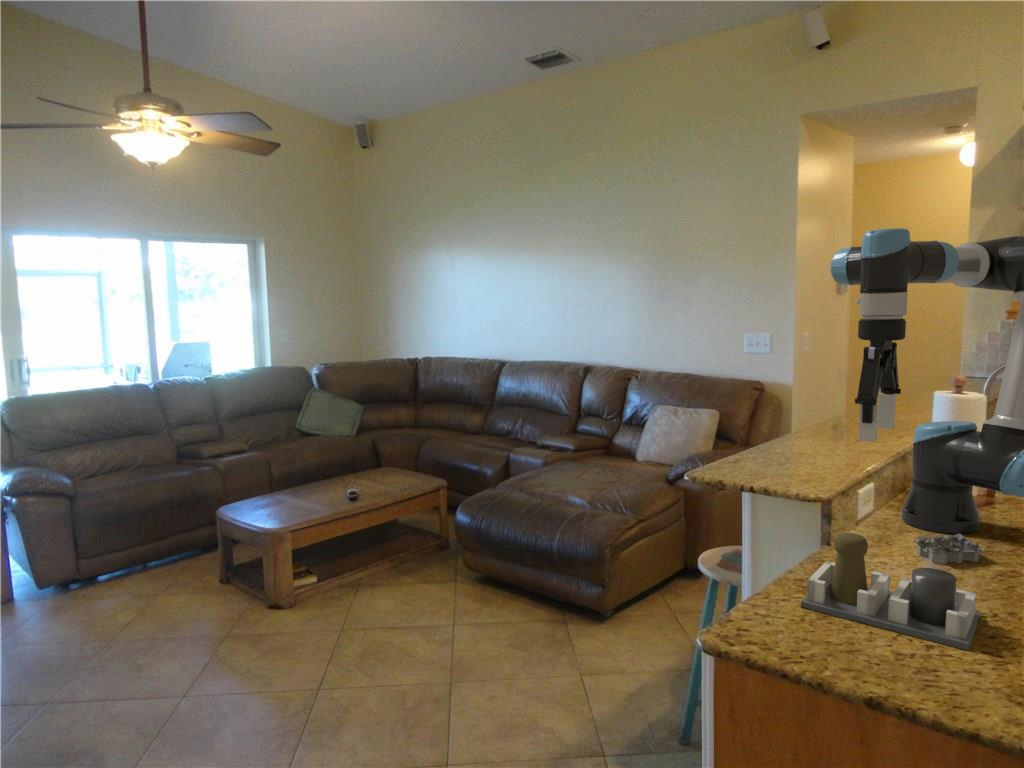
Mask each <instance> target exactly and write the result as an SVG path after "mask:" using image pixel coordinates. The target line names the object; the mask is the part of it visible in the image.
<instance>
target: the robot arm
mask: <svg viewBox="0 0 1024 768" xmlns="http://www.w3.org/2000/svg"><path fill="white" fill-rule="evenodd" d="M861 239H862V241H861V246H850V247H846V248H845V247H844V248H841V249H839V250H837V251H836V252H835V253H834V255H832V258H831V260H830V266H829V267H830V268H829V269H830V275H831V277H832V279H833V280H834V281H835V282H836V283H837V284H840V285H843V286H845V285H846V286H847V285H848V286H860V287H859V298H857V299H856V300H855V301H856V302H855V303H856V304H857V305H859V307H858V309H859V311H858V315H860V316H861V317H862V318H860V319H859V320H858V325H857V327H858V328H857V338H858V339H859V340H862V341H869V346H864V348H863V355H862V356H863V358H862V366H861V372H860V377H859V383H858V384H859V385H858V390H857V396H856V398H854V404H855V405H856V404H857V405H859V422H858V423H859V427H858V429H859V430H858V441H860V442H861V441H862V442H869V443H870V442H871V443H877V442H878V440H877V439H878V429H883V430H884V429H886V430H895V425H896V424H895V421H896V419H895V418H896V399H897V395H901V393H902V388H900V383H899V372H898V371H899V369H898V357H897V355H898V354H897V353H898V351H897V347H898V343H897V342H895V341H902V340H904V339H905V338H906V333H907V332H906V330H907V329H906V327H907V320H906V319H905V318H904V316H906V315H907V314H908V293H909V292H908V284H953V285H955V286H957V287H960V288H977V289H984V290H991V291H992V290H993V291H1003V292H1004V291H1005V292H1013V297H1014V299H1015V300H1016V301H1017V302H1018V303H1019V308H1018V312H1017V315H1016V320H1015V324H1014V329H1013V333H1012V338H1011V342H1010V346H1009V351H1008V353H1007V358H1006V362H1005V367H1004V371H1003V375H1002V379H1001V385H1000V388H999V393H998V397H997V402H996V405H995V409H994V413H993V416H992V417H991V418H989V419H987V420H985V421H984V422H983V423H982V426H981V427H982V428H981V431H979V430H978V427H977V424H976V423H975V422H973V421H966V420H965V421H964V420H963V421H961V420H960V421H959V420H948V421H947V420H945V421H943V420H942V421H929V422H923V423H920V424H918V425H917V426H916V427H915V430H914V436H913V441H912V444H913V451H912V473H911V477H912V478H911V479H912V481H911V487H910V490H909V492H908V494H907V496H906V498H905V501H904V504H903V505H902V508H901V520H902V521H903V522H904V523H906V524H907V525H910V526H913V527H915V528H918V529H922V530H926V531H932V532H934V533H935V532H937V533H942V534H943V533H944V534H959V533H960V534H970V533H974V532H977V531H979V530H980V528H981V516H980V513H979V509H978V506H977V503H976V500H975V497H974V493H973V488H974V487H976V488H982V489H986V490H989V491H994V492H997V493H1001V494H1003V495H1007V496H1016V497H1021V498H1024V235H1020V236H1019V235H1017V236H1008V237H1001V238H994V239H990V240H984V241H977V242H963V243H961V244H959V245H957V246H955V247H954V246H953V245H952V244H951V243H948V242H947V241H945V242H944V241H938V240H929V241H927V240H921V241H920V240H919V241H917V240H916V241H912V240H911V233H910V231H909V230H908V229H907V228H900V227H899V228H897V227H896V228H882V229H881V228H880V229H879V228H878V229H873V230H868V231H866V232H865V233H864V234H863V236H862V238H861ZM880 392H881V393H880ZM877 403H878V404H877Z"/></svg>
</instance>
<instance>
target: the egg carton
mask: <svg viewBox="0 0 1024 768" xmlns="http://www.w3.org/2000/svg"><path fill="white" fill-rule="evenodd" d="M913 543H917V544H916V555H917V556H918V555H919V556H918V557H920V556H924V558H927V557H928V558H927V559H928V562H929V561H930V563H931V562H933V563H932V564H938V563H939V564H940V565H947V563H948V562H951V563H955V564H962V563H963V560H964V561H966V560H967V562H968V561H969V562H972V563H978V562H979V560H980V554H982V553H983V551H985V547H982V548H981V547H980V546H979V544H978V543H975V542H974V541H973V540H971V539H969V538H966V537H965V536H964V535H963V534H962V533H955V534H954V535H953V534H952V535H945V536H944V535H937V536H930V537H926V536H917V537H915V539H914V540H913Z"/></svg>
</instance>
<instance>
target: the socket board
mask: <svg viewBox="0 0 1024 768" xmlns="http://www.w3.org/2000/svg"><path fill="white" fill-rule="evenodd" d="M835 563H836V562H831V561H827V560H826V561H824V562H823V564H822V565H821V566H819V568H818V569H817V570H816V571H815V572H814V573H813V574H812V575H811V576H810V577H809V578H808V579H807V585H806V586H807V590H806V596H804V597H803V598H802V599H801V601H800V608H802V607H805V608H804V609H806V608H809V609H808V610H810V609H812V610H811V611H813V610H815V611H814V612H817V611H818V612H817V613H821V612H822V614H825V613H826V614H825V615H830V616H834V617H838V618H841V619H844V618H845V619H844V620H848V619H849V621H852V620H853V621H852V622H856V621H858V622H857V623H860V622H862V623H861V624H864V623H865V625H868V624H869V625H868V626H872V627H876V628H879V629H883V630H888V631H891V632H895V633H900V634H902V633H903V635H907V636H910V637H915V638H919V639H921V640H922V639H923V640H927V641H930V642H934V643H937V644H941V645H942V644H943V645H946V646H950V647H953V648H957V649H961V650H965V651H968V652H969V651H970V648H971V645H972V643H973V639H974V637H975V634H976V631H977V628H978V625H979V623H980V620H979V619H981V611H976V607H977V606H976V602H977V601H976V600H977V593H976V592H972V591H967V590H962V589H958V588H957V577H956V576H955V574H953V573H951V572H948V571H946V570H944V569H937V568H932V567H918V568H914V569H913V570H912V571H911V572H912V573H911V578H906V577H902V579H901V580H900V582H899V583H898V585H897V586H896V587H895V589H894V591H890V587H891V586H890V583H891V582H890V581H891V574H887V573H882V572H878V571H872V572H871V577H870V578H871V579H870V581H871V582H870V586H867V589H868V591H865V590H860V589H859V590H858V592H857V605H850V604H845V603H841V602H838V601H836V600H834V599H833V598H831V597H830V590H831V584H832V579H833V573H834V568H835ZM978 622H979V623H978Z"/></svg>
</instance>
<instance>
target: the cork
mask: <svg viewBox="0 0 1024 768" xmlns="http://www.w3.org/2000/svg"><path fill="white" fill-rule="evenodd" d="M833 547H834V550H835V551H836V558H835V562H834V563H835V568H834V573H833V579H832V584H831V590H830V597H831V598H833V599H834V600H836V601H838V602H841V603H845V604H850V605H857V592H858V590H859V589H860V590H865V591H868V589H867V587H868V580H867V573H866V562H865V556H866V555H867V553H868V550H869V543H868V541H867V539H866V538H865V537H864V536H862V535H861V534H858V533H852V532H841V533H839V534H837V535H836V536H835V537H834V541H833Z"/></svg>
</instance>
